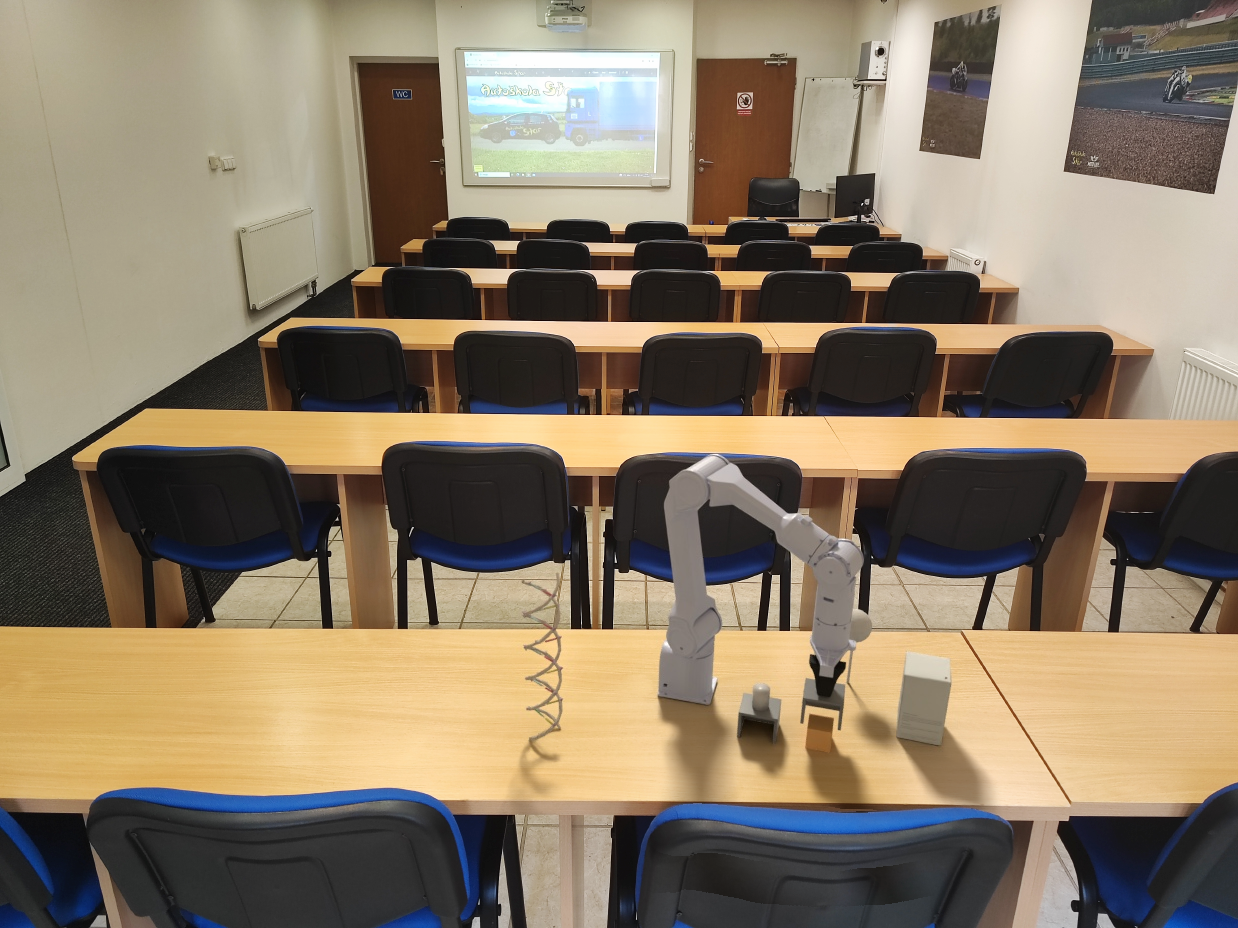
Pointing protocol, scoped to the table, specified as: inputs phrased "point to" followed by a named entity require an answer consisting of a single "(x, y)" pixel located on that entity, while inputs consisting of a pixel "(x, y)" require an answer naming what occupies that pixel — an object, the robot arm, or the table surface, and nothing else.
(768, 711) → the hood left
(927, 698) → the supplement box
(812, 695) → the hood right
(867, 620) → the lollipop
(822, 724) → the cube
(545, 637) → the dna model
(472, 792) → the table surface
